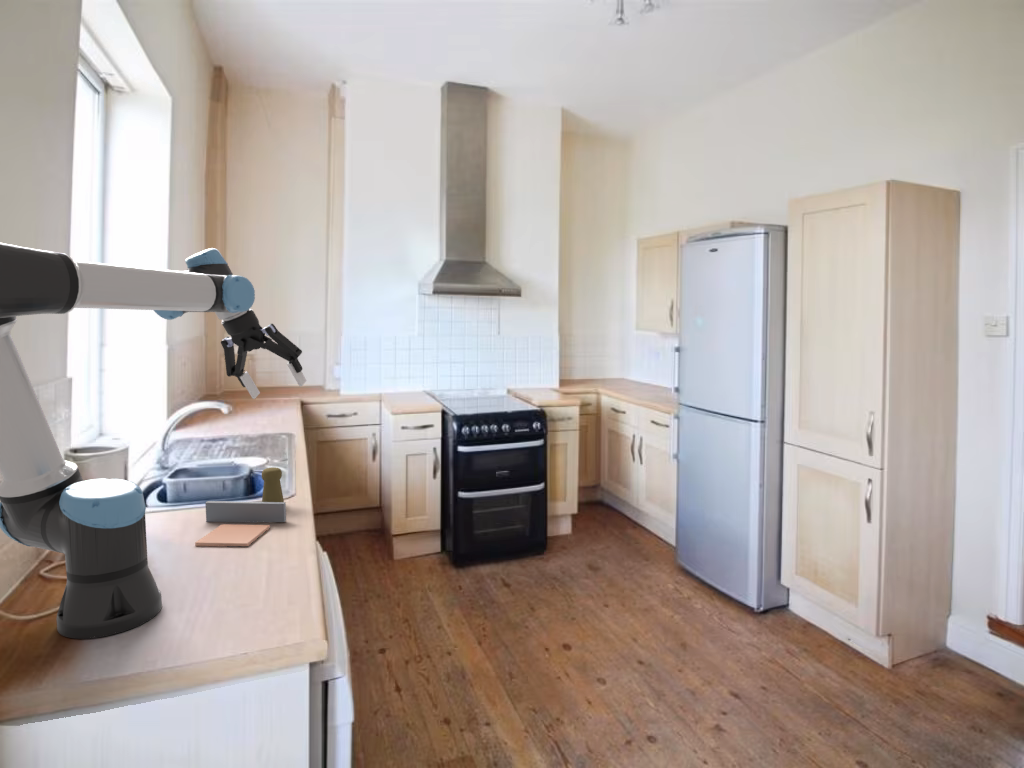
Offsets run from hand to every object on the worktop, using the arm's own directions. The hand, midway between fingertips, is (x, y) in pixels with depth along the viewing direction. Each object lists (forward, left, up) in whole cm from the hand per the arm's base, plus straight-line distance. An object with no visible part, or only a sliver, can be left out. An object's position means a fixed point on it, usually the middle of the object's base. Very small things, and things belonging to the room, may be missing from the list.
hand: (279, 390), depth 149 cm
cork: (+10, +7, -34) cm, 36 cm away
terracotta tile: (-12, +7, -34) cm, 36 cm away
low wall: (-1, +9, -34) cm, 35 cm away
